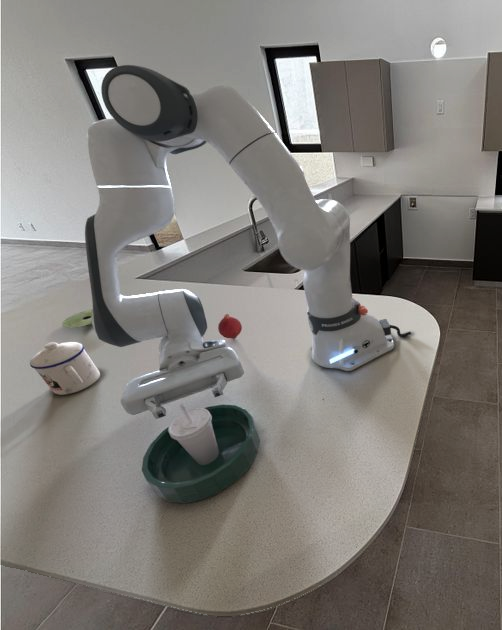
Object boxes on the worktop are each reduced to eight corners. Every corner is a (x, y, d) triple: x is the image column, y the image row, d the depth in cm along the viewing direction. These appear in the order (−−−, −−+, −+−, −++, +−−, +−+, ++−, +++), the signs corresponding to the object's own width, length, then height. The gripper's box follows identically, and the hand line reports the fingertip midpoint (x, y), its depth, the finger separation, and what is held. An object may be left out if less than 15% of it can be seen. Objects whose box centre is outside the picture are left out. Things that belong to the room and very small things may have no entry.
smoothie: (200, 478, 59) (168, 424, 52) (181, 460, 62) (149, 408, 55) (233, 451, 64) (209, 398, 56) (215, 436, 66) (189, 385, 59)
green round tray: (253, 409, 73) (247, 393, 71) (267, 472, 60) (260, 455, 58) (157, 444, 66) (146, 427, 63) (150, 525, 53) (136, 508, 50)
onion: (236, 345, 94) (227, 321, 89) (218, 342, 95) (208, 319, 90) (249, 333, 98) (241, 310, 94) (231, 331, 99) (223, 308, 95)
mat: (91, 333, 99) (88, 327, 98) (54, 332, 99) (50, 327, 98) (121, 313, 109) (118, 308, 108) (87, 313, 109) (84, 308, 108)
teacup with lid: (47, 386, 80) (16, 347, 74) (94, 365, 86) (69, 328, 80) (62, 407, 74) (30, 367, 68) (112, 383, 80) (86, 345, 74)
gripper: (117, 371, 65) (110, 417, 55) (231, 337, 75) (243, 370, 65) (131, 394, 68) (127, 441, 58) (239, 358, 78) (251, 394, 68)
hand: (189, 404), depth 62 cm, fingers open, 8 cm apart
